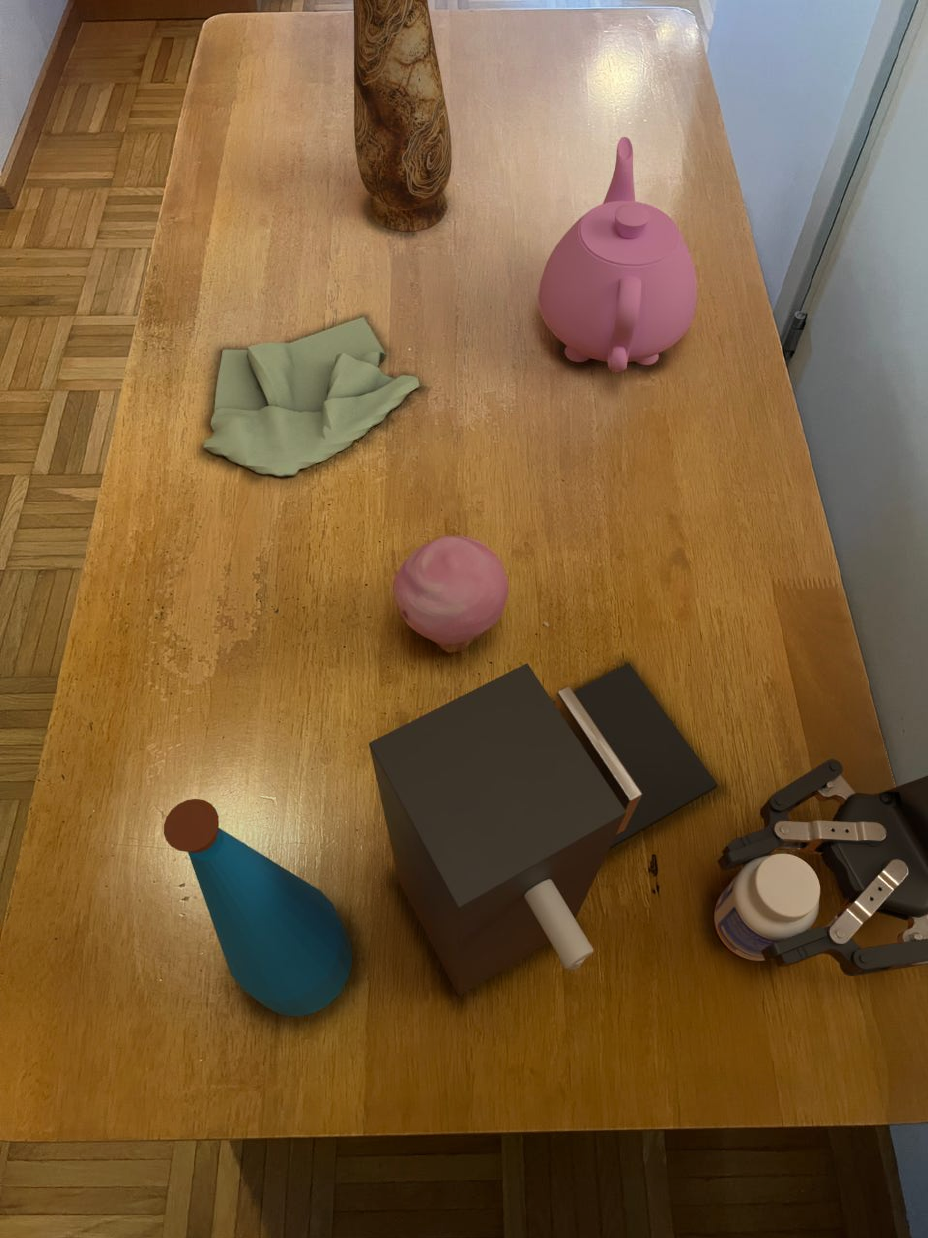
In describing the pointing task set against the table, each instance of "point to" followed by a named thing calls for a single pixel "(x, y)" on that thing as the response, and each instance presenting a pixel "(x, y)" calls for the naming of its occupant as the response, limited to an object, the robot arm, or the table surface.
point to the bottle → (264, 917)
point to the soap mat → (644, 747)
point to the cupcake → (451, 591)
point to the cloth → (302, 399)
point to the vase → (400, 114)
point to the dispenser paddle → (599, 752)
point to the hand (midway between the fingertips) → (745, 908)
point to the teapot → (619, 279)
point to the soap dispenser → (495, 826)
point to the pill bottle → (767, 904)
